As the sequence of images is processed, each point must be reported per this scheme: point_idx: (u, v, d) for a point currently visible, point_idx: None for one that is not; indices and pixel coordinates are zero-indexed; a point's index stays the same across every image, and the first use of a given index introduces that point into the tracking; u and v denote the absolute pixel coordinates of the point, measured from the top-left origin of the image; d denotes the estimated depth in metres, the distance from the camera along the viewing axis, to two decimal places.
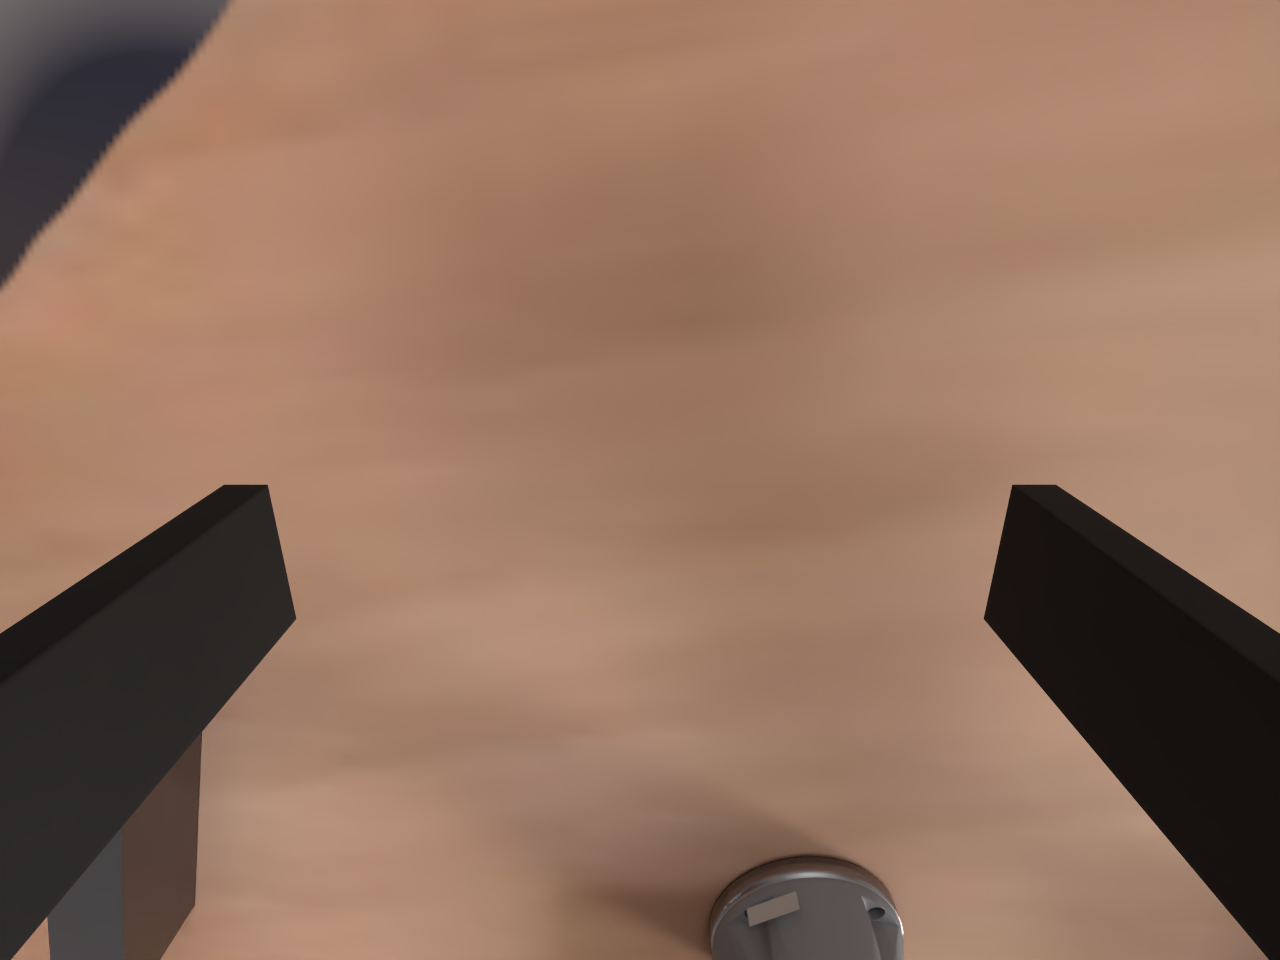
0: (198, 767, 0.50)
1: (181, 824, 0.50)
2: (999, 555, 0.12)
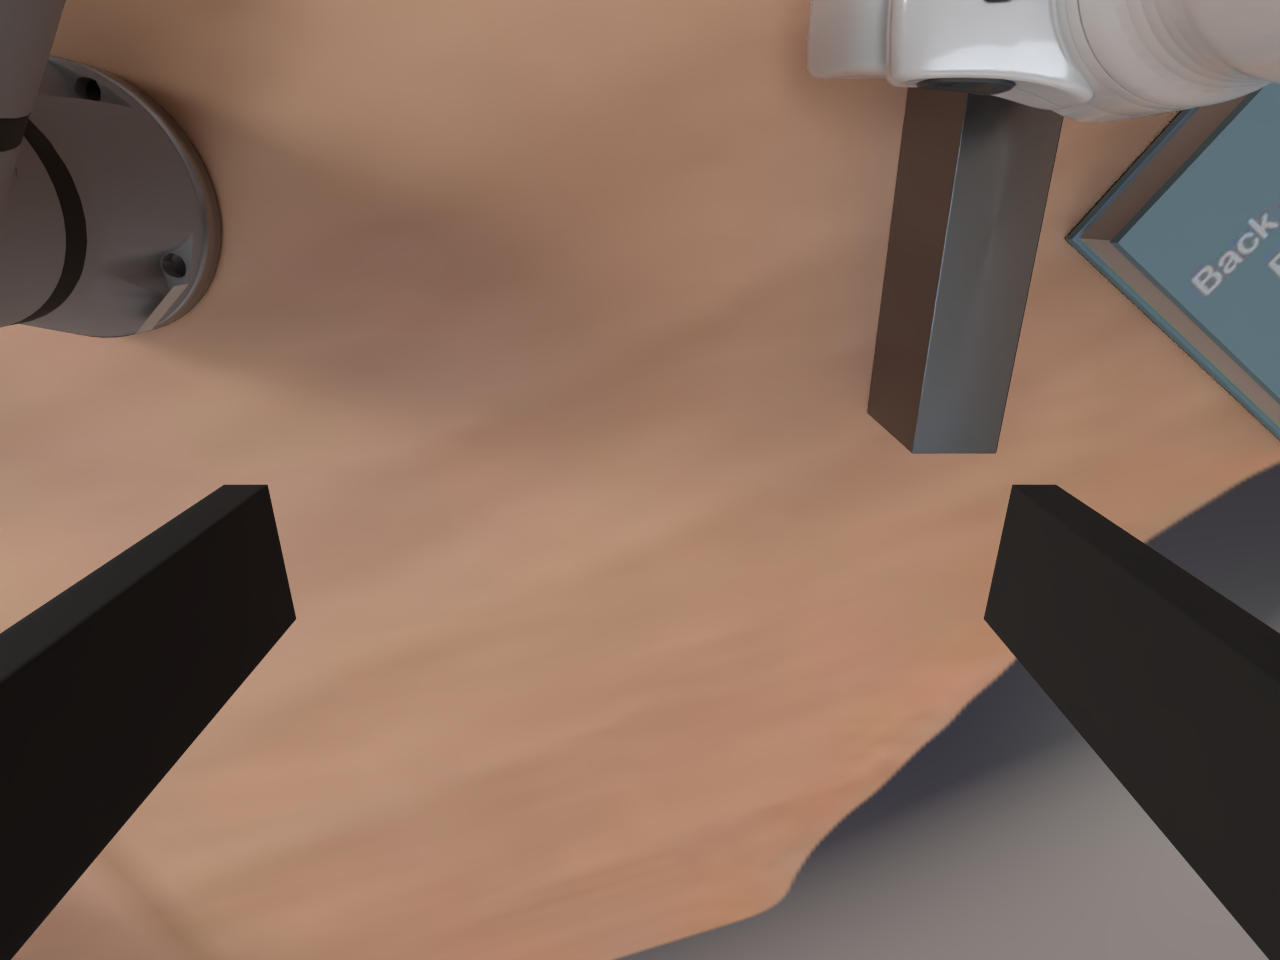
0: (885, 278, 0.43)
1: (904, 216, 0.40)
2: (1000, 556, 0.12)
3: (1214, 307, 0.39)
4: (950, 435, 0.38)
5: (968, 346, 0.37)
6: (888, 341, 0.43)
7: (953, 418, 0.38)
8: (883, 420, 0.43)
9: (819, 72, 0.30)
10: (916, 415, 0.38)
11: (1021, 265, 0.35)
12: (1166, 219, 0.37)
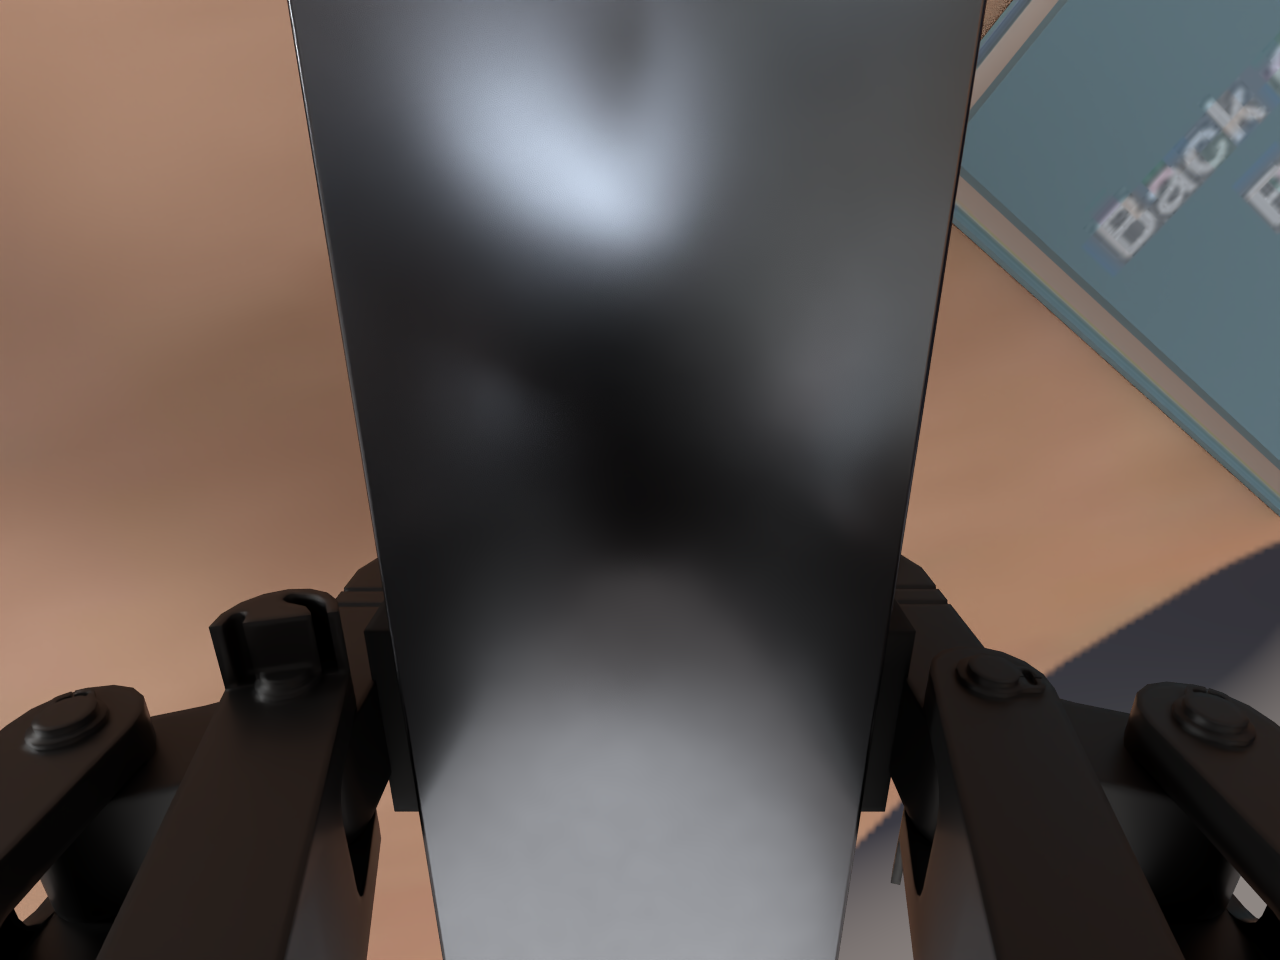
0: None
1: None
2: None
3: (1143, 280, 0.20)
4: None
5: (611, 616, 0.06)
6: None
7: (606, 913, 0.08)
8: None
9: None
10: (435, 889, 0.08)
11: (880, 119, 0.05)
12: (1039, 101, 0.18)
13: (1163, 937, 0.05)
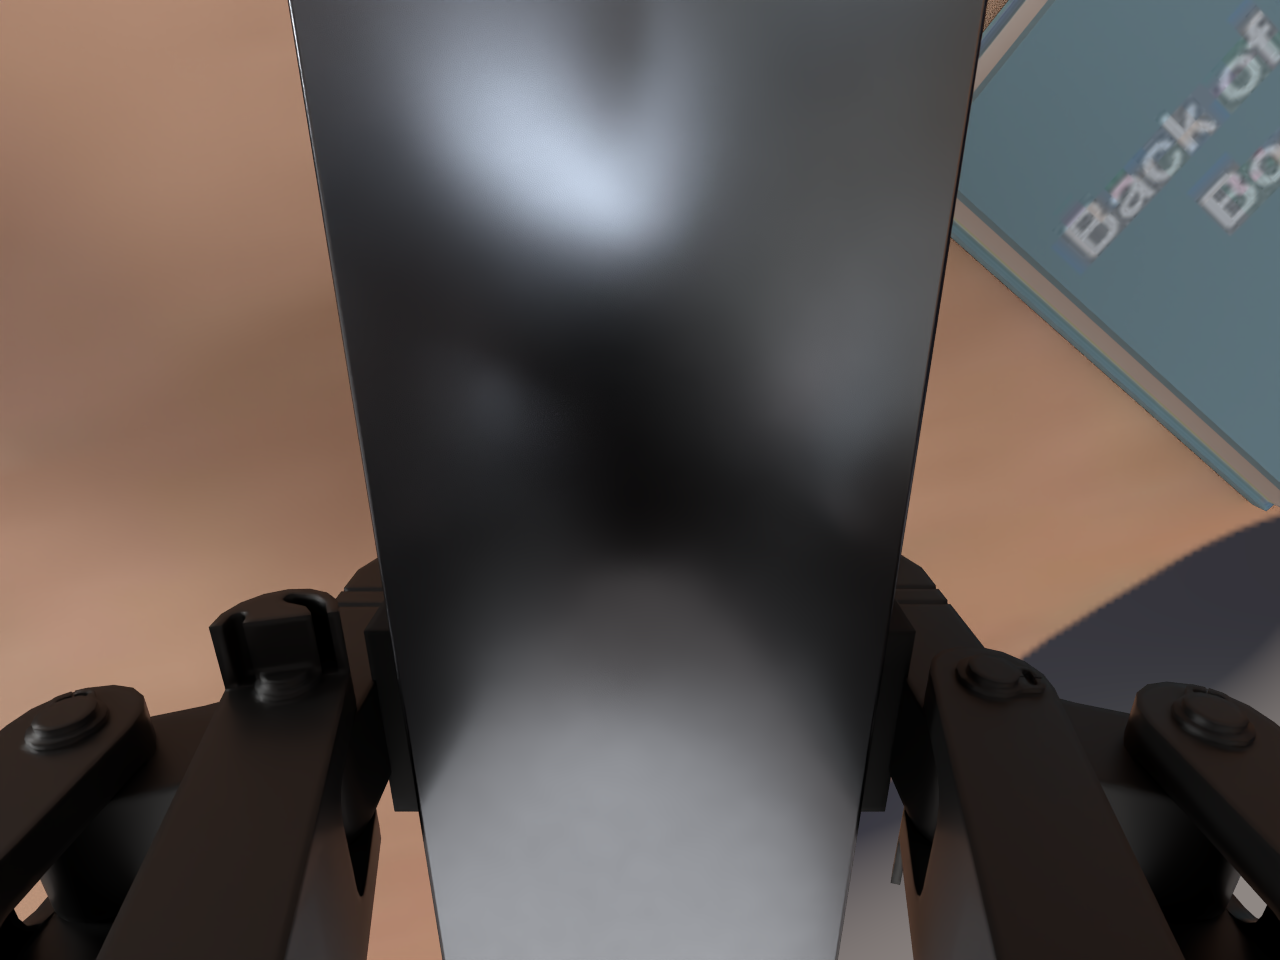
0: None
1: None
2: None
3: (1107, 278, 0.22)
4: None
5: (611, 616, 0.06)
6: None
7: (606, 914, 0.08)
8: None
9: None
10: (435, 889, 0.08)
11: (881, 119, 0.05)
12: (1009, 116, 0.20)
13: (1164, 937, 0.05)
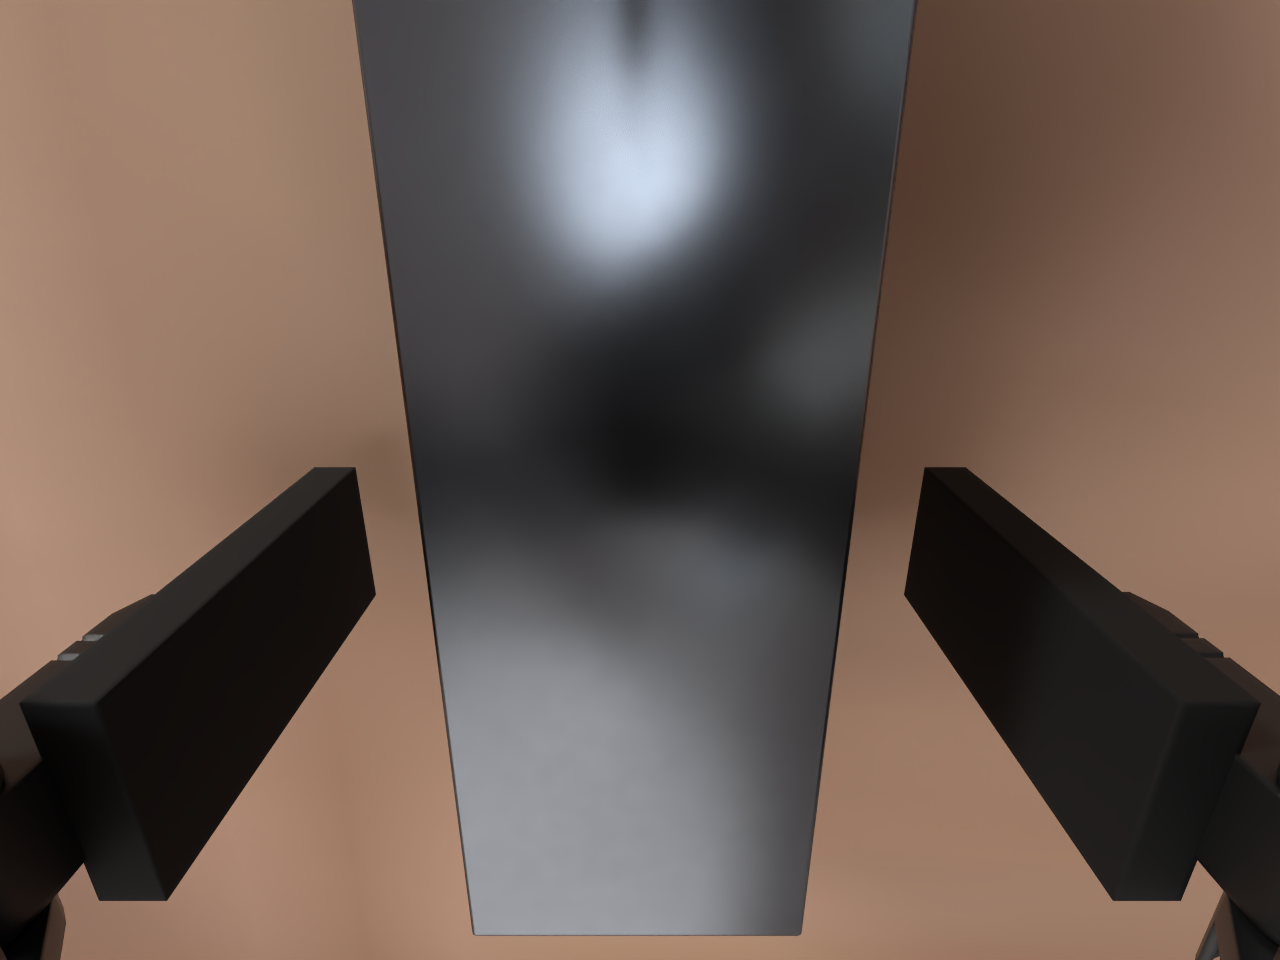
0: None
1: None
2: (916, 534, 0.13)
3: None
4: (611, 884, 0.10)
5: (612, 567, 0.08)
6: None
7: (607, 832, 0.09)
8: None
9: None
10: (460, 812, 0.09)
11: (828, 162, 0.06)
12: None
13: None
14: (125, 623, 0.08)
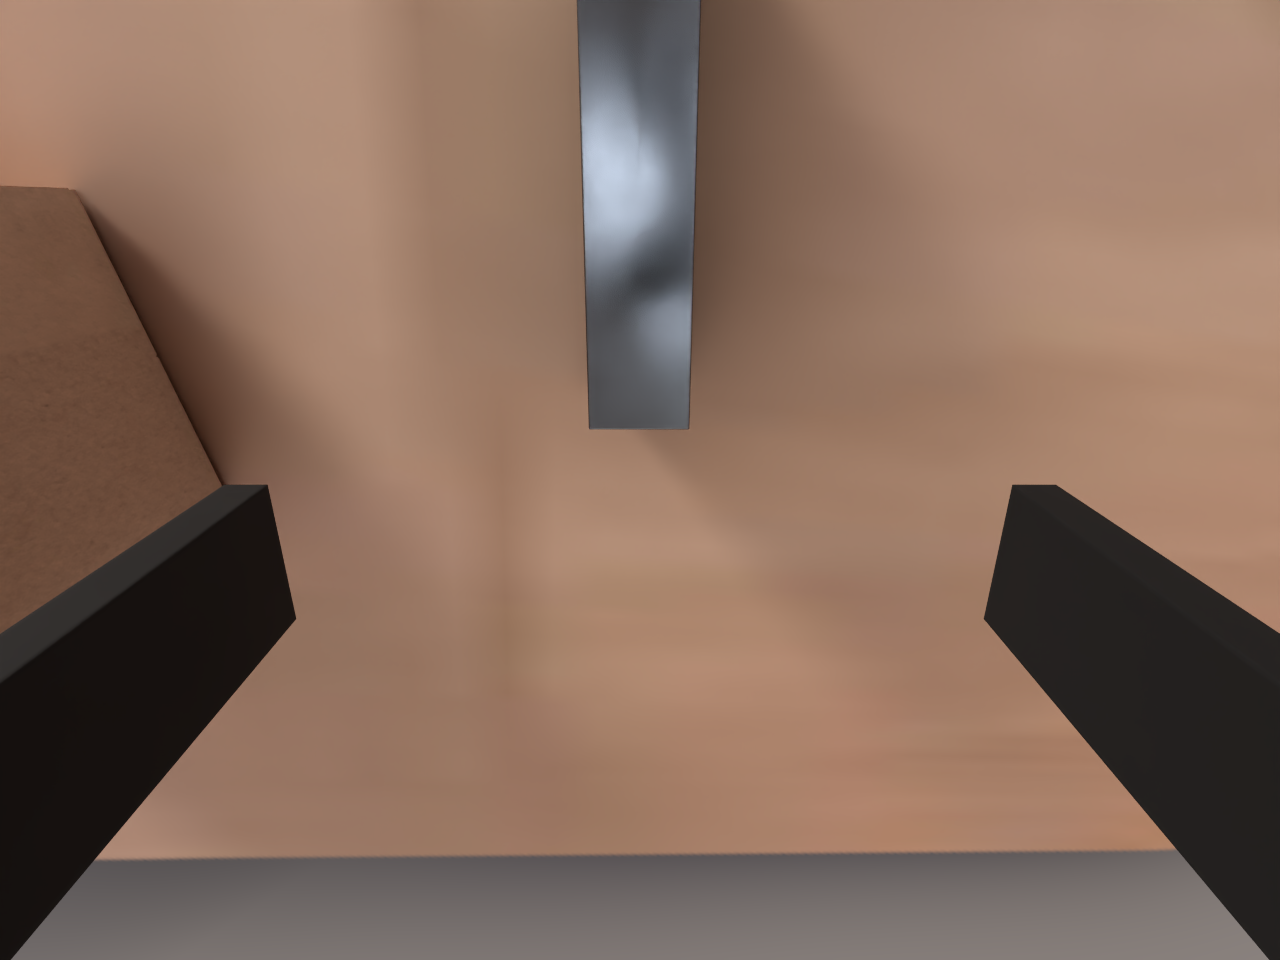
0: None
1: None
2: (999, 556, 0.12)
3: None
4: (631, 407, 0.32)
5: (632, 299, 0.30)
6: None
7: (630, 387, 0.32)
8: None
9: None
10: None
11: (680, 198, 0.29)
12: None
13: None
14: None
